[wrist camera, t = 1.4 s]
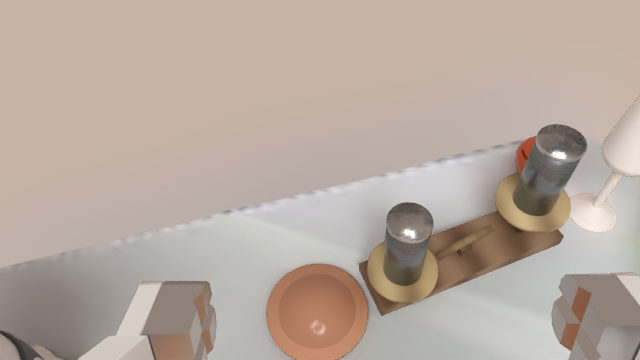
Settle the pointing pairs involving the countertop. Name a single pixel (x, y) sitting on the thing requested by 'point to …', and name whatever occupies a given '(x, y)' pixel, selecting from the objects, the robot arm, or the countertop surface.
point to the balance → (470, 249)
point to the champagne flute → (624, 159)
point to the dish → (317, 313)
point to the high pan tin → (548, 169)
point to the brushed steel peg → (406, 243)
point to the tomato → (524, 153)
